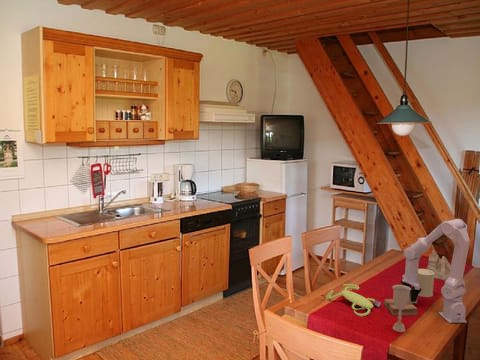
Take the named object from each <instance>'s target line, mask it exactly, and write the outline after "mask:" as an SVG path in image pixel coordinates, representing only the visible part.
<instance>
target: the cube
mask: <svg viewBox="0 0 480 360" xmlns="http://www.w3.org/2000/svg"><path fill="white" fill-rule="evenodd" d="M409 301H410V302H411V297H410V292H409ZM411 303H412V304H418V299H417V300H416V302H411Z"/></svg>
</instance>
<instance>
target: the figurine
mask: <svg viewBox="0 0 480 360" xmlns="http://www.w3.org/2000/svg"><path fill="white" fill-rule="evenodd" d="M342 286H343V287H344V289H343V290H342V291H341V292H339V293H337V294H335V295H333V294H334V292H335V291H334V290H333V289H331V290H330V291H329V292H328V293H327V294H326V296H325V300H333V299H335V298H338V297H340V296H343V297H344V298H345V299H346V300H348V301H349V302H351V308H352V310H353V312H354V315H355V316H358V317H366V316H368V315H369V314H370V313H371V309H373V308H374V306H376V307H378V308H380V306H381V304H382V302H380V301H378V300H377V299H375V298H369V297H367V298H366V296H365V297H364V296H363V295H361V294H358V293H356V292H354V291H355V290H356V291H359V290H360V287H359V285H357V284H353V283H352V284H349V283H348V284H346V283H343V285H342ZM349 289H350V290H349ZM351 289H352V290H354V291H352V290H351ZM356 305H357V306H359V307H361V308H355V306H356ZM365 309H366V310H367V311H366V312H364V313H358V312H357V310H362V311H364V310H365Z"/></svg>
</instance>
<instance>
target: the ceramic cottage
mask: <svg viewBox="0 0 480 360" xmlns="http://www.w3.org/2000/svg"><path fill="white" fill-rule="evenodd" d="M427 264H428V265H427V266H426V268H425V269H427V270H431V271H433V272H434V273H435V274H434V279H438V280H441V281H446V280H447V279H448V277H449V273H450V268H451V263H450V262H449V261H448V259H447V258H446V256H444V255H443V256H442V257H441V258H440V256H439V255H438V254H436V252H435V250H432V252H431V253H429V257H428V262H427Z"/></svg>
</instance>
